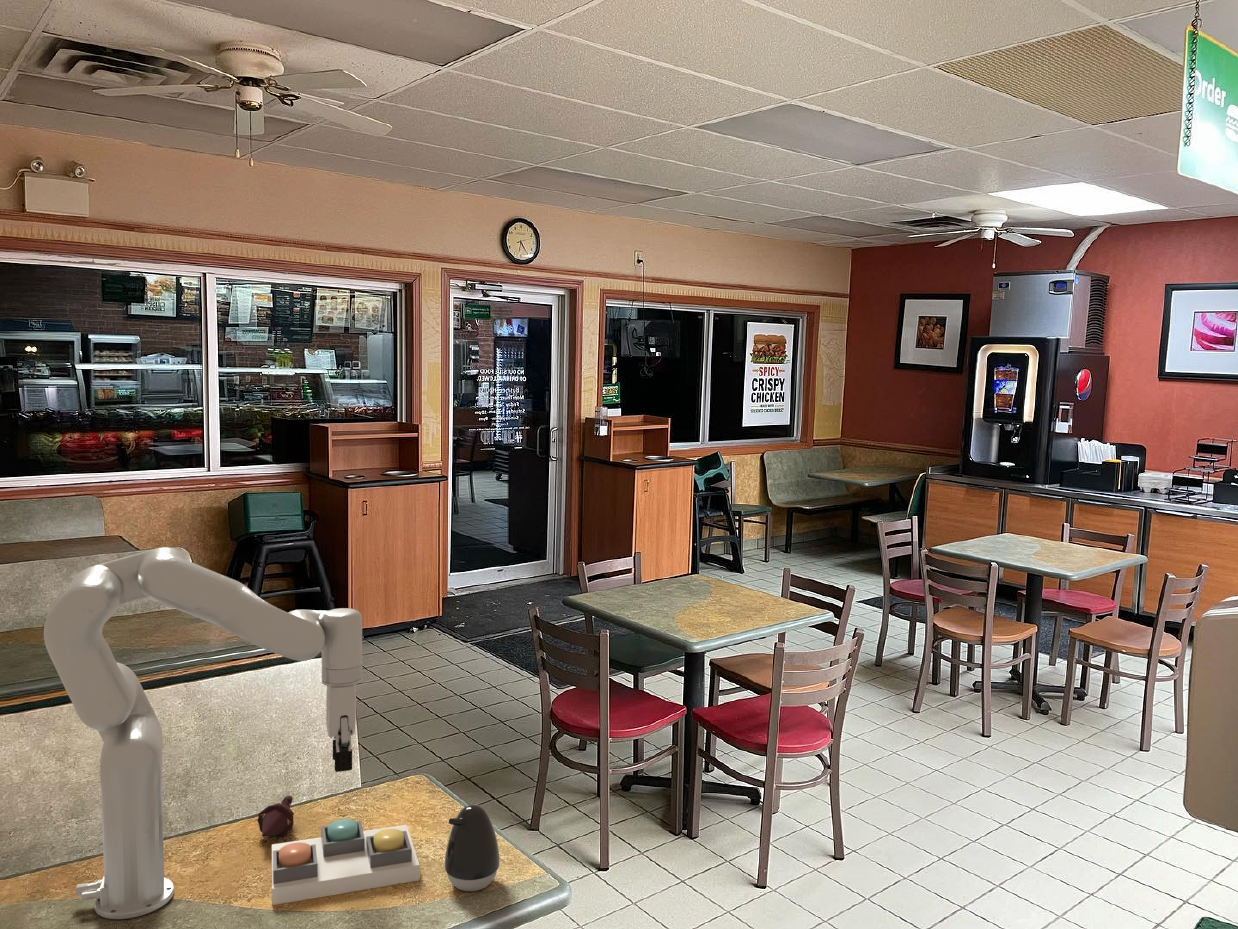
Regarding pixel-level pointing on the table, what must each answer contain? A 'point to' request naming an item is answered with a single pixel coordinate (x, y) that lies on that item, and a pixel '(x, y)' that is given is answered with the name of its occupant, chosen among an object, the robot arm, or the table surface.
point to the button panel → (343, 867)
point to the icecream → (276, 819)
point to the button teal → (342, 830)
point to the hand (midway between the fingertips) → (342, 763)
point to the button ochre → (388, 840)
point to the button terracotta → (294, 855)
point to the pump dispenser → (472, 850)
